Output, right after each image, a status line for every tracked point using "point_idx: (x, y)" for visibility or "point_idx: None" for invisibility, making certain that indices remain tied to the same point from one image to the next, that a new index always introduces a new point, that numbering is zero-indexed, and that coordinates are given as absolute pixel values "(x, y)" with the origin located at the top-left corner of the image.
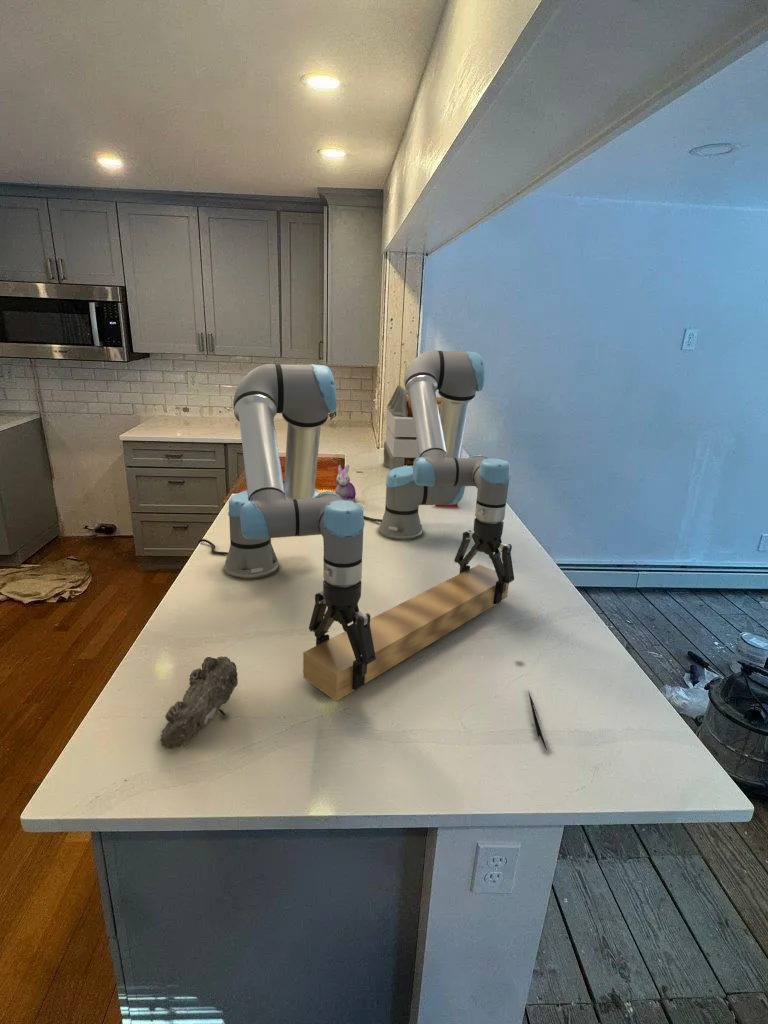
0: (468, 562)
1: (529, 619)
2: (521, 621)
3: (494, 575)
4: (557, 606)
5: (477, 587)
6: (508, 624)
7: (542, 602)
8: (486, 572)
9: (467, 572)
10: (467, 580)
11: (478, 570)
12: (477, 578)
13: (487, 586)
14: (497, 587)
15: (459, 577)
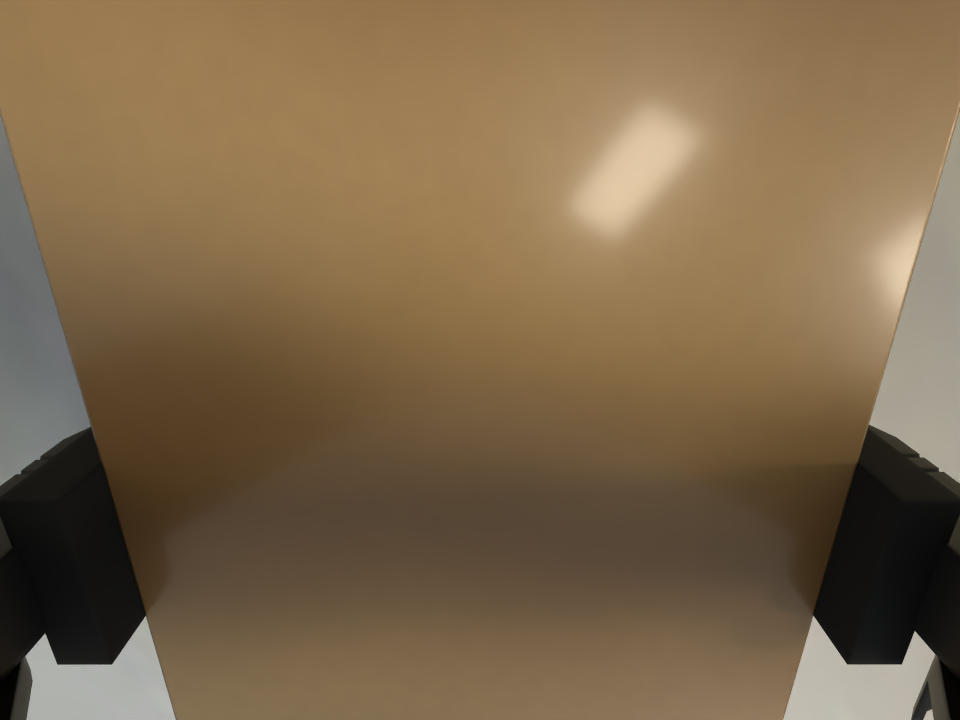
0: (946, 718)
1: (5, 430)
2: (10, 351)
3: (364, 693)
4: (61, 714)
5: (206, 39)
6: (22, 208)
7: (161, 693)
8: (521, 690)
9: (785, 481)
10: (601, 175)
11: (660, 661)
12: (497, 420)
13: (122, 278)
14: (84, 441)
15: (832, 162)
